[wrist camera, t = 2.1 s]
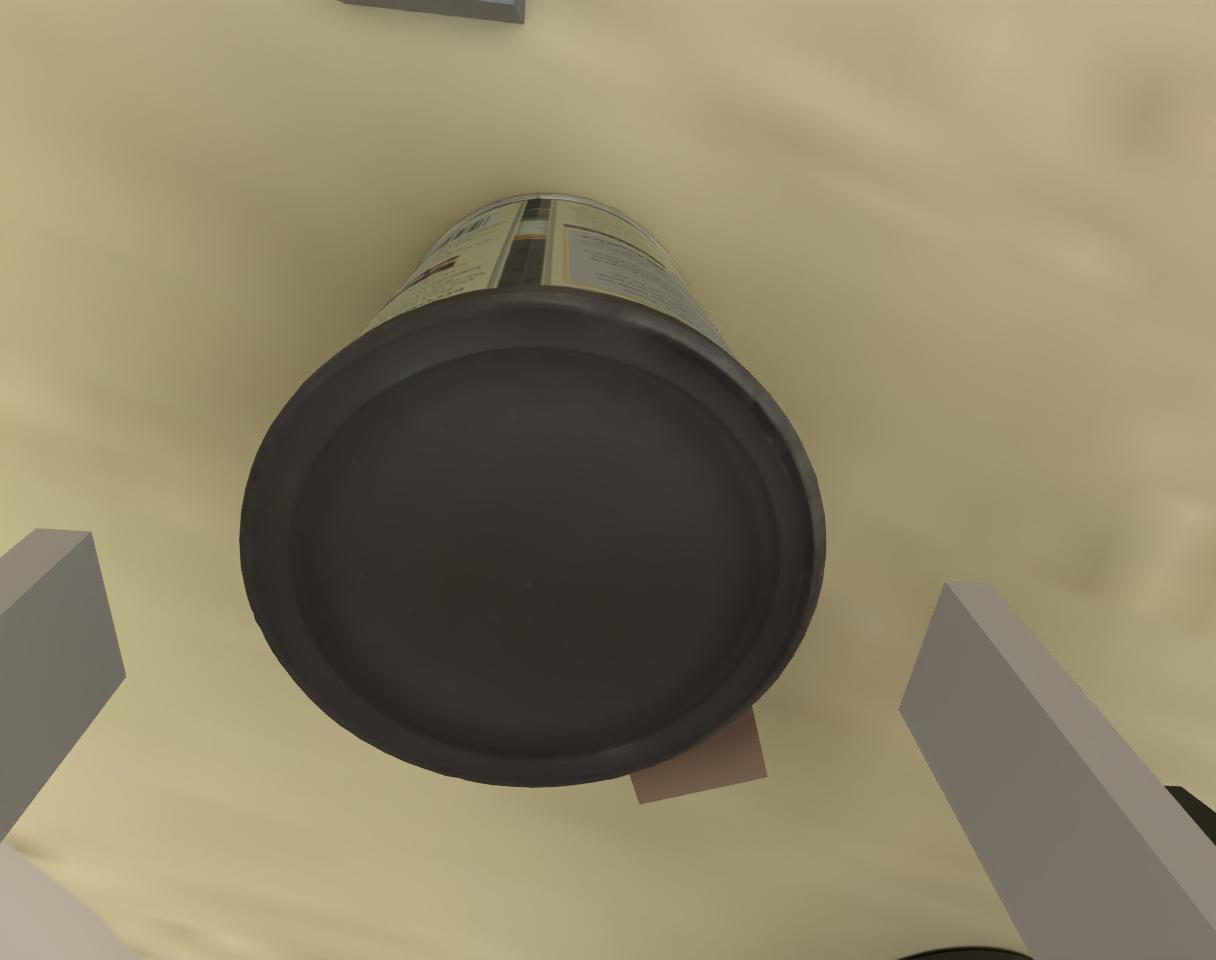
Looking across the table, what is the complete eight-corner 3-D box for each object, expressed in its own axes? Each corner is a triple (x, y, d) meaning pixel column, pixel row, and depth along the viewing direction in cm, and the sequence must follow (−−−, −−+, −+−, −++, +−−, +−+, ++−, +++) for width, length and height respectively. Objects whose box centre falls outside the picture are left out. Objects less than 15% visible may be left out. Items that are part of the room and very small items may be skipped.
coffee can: (610, 525, 29) (643, 849, 17) (355, 407, 27) (163, 685, 14) (761, 290, 25) (951, 478, 13) (480, 124, 23) (371, 156, 10)
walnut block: (740, 685, 33) (767, 776, 29) (630, 710, 34) (639, 804, 29) (720, 595, 31) (745, 679, 27) (602, 623, 31) (607, 710, 27)
